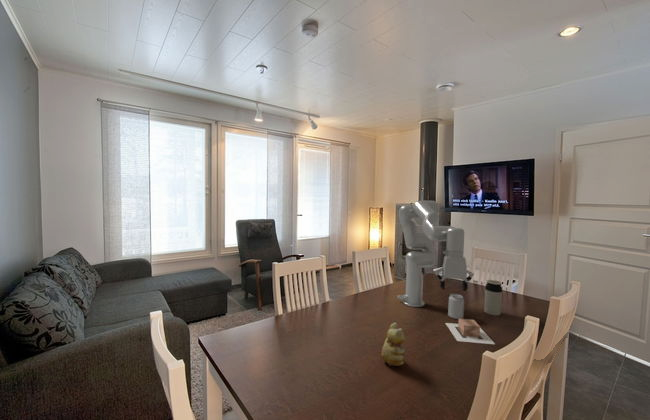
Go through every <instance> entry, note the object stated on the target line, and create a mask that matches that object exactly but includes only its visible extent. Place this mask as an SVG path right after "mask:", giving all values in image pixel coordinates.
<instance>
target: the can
mask: <svg viewBox="0 0 650 420" xmlns="http://www.w3.org/2000/svg"><path fill="white" fill-rule="evenodd" d="M464 306H465V299H464V296H463V295H461V294H458V293H450V296H449V297H448V306H447V310H448V312H447V316H448V317H450V318H451V319H454V320H459V319H464V315H465V314H464V312H465V307H464Z"/></svg>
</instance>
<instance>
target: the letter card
mask: <svg viewBox="0 0 650 420" xmlns="http://www.w3.org/2000/svg"><path fill="white" fill-rule="evenodd" d="M445 325H446V327H447V328H448V329H449V331H450V332H451V334H452V335H453V337H454V339H455V340H456V341H457V342H464V343H474V344H475V343H476V344H486V345H496V343H495V342H494V341H493V340H492V339H491V337H489V335H488V334H487V333H486V332H485V331H484V330H483V329H482V328H481V327H480V334H479V337H473V336H463V335H462V333H461V332H460V331H459V329H458V323H452V322H451V323H450V322H445Z"/></svg>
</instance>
